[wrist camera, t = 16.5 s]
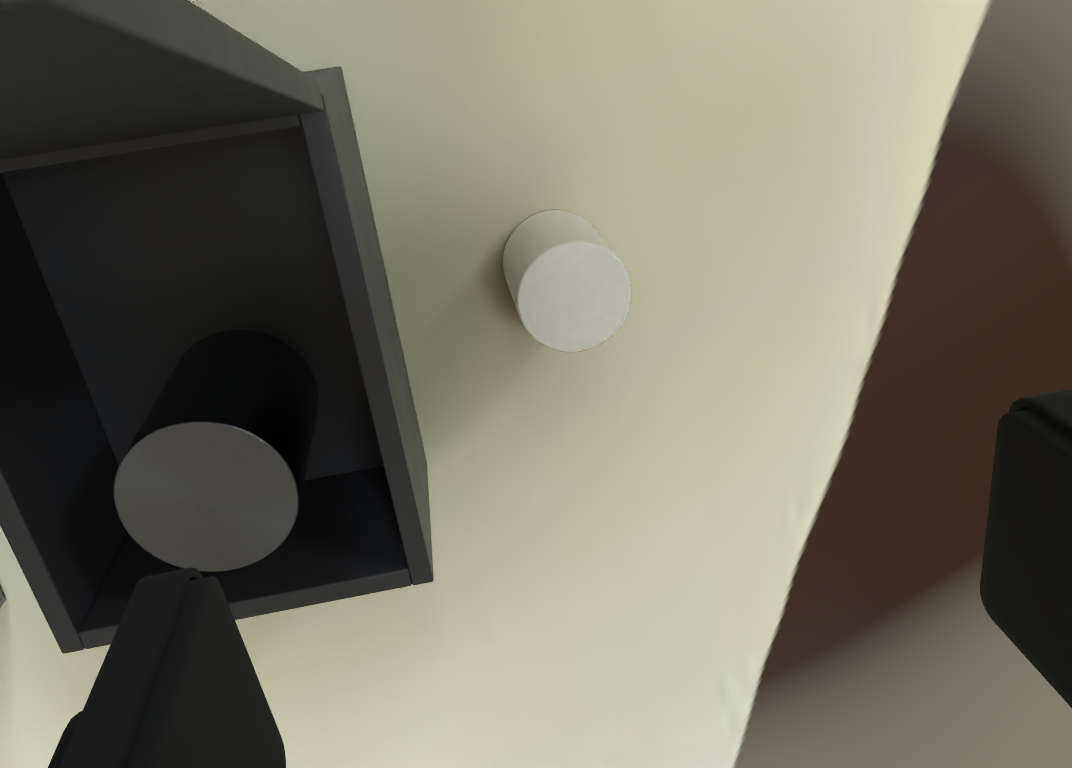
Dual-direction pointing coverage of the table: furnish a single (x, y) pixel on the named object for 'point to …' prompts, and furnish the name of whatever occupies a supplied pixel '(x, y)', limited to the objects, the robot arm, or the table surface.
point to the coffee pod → (566, 281)
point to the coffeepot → (1, 598)
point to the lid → (132, 74)
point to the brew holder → (221, 454)
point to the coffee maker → (180, 322)
